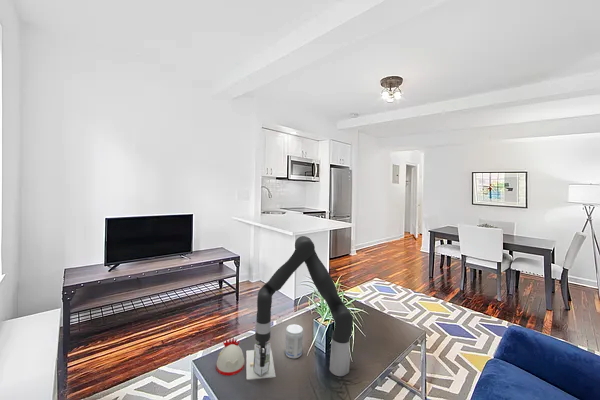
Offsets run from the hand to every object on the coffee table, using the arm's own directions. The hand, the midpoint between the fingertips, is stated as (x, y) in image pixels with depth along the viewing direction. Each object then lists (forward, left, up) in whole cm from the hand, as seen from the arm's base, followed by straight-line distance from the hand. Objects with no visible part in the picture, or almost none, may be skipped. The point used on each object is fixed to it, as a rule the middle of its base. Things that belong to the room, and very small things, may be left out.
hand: (261, 360), depth 134 cm
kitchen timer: (+15, -7, -7) cm, 18 cm away
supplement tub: (-19, -13, -6) cm, 24 cm away
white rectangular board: (0, -7, -6) cm, 9 cm away
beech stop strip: (0, -5, -6) cm, 8 cm away
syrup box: (0, 0, -5) cm, 5 cm away
